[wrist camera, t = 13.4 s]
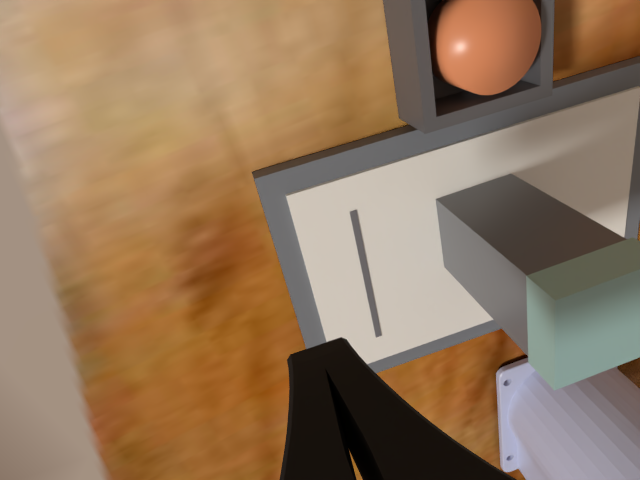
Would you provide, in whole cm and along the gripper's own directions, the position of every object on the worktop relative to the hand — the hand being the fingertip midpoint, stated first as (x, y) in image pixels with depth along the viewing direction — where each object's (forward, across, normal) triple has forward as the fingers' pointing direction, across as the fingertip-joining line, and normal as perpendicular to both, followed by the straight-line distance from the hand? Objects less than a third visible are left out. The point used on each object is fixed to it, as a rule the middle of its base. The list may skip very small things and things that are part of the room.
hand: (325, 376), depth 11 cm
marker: (+9, -9, +3) cm, 13 cm away
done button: (+9, -9, -4) cm, 14 cm away
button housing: (+10, -9, -4) cm, 14 cm away
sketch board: (+10, -9, +4) cm, 14 cm away
